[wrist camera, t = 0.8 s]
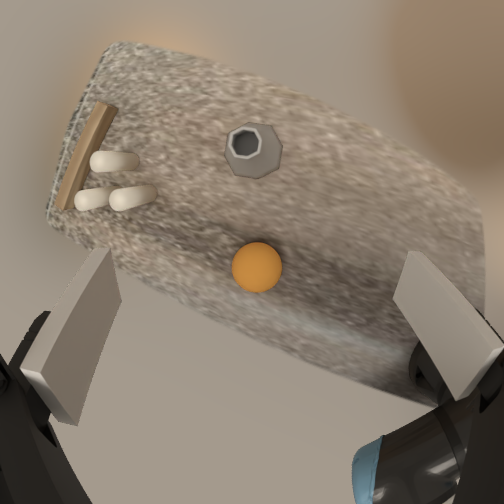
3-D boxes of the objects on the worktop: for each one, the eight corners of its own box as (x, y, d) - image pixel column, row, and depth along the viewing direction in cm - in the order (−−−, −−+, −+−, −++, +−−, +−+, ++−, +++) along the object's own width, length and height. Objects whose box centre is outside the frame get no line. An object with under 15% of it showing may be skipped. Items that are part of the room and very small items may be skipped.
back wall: (118, 109, 35) (107, 105, 32) (74, 207, 39) (63, 210, 36) (108, 104, 35) (97, 101, 32) (66, 201, 39) (54, 204, 36)
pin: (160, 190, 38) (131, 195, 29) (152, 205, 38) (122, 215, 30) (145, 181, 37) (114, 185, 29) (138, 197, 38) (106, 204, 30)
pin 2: (126, 190, 38) (92, 196, 30) (119, 205, 39) (85, 214, 30) (113, 182, 38) (78, 186, 30) (107, 197, 38) (71, 205, 30)
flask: (229, 183, 37) (212, 187, 27) (220, 127, 35) (200, 113, 25) (287, 174, 36) (290, 175, 26) (277, 118, 34) (278, 99, 25)
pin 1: (142, 157, 37) (110, 156, 28) (134, 173, 37) (101, 175, 29) (128, 150, 36) (95, 147, 28) (121, 165, 37) (86, 166, 29)
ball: (290, 253, 38) (293, 268, 33) (265, 290, 40) (263, 309, 34) (250, 228, 38) (245, 239, 32) (227, 266, 40) (218, 283, 34)
